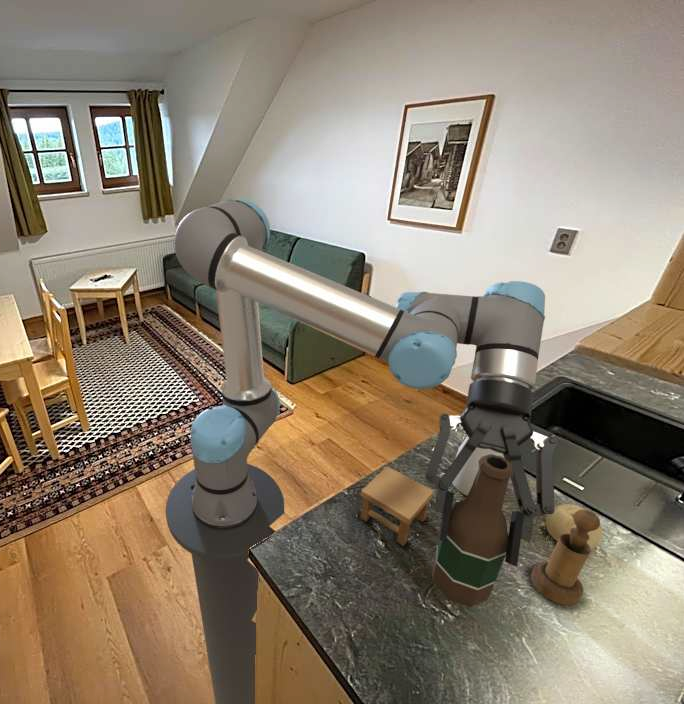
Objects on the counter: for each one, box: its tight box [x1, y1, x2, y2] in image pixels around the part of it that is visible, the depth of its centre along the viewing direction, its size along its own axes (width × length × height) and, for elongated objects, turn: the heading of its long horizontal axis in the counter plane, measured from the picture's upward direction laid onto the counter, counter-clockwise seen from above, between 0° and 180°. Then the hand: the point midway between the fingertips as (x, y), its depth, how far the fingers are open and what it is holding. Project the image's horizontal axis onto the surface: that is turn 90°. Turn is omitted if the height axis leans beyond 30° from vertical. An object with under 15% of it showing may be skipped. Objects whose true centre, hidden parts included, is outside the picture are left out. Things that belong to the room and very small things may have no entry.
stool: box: [359, 465, 435, 547], centre depth 82 cm, size 10×10×8 cm
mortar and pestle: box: [530, 508, 601, 607], centre depth 65 cm, size 7×6×18 cm
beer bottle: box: [431, 454, 513, 608], centre depth 55 cm, size 8×8×24 cm
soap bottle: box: [451, 435, 504, 497], centre depth 85 cm, size 10×10×23 cm
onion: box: [544, 503, 603, 550], centre depth 75 cm, size 8×8×8 cm
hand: (475, 551), depth 52 cm, fingers closed on beer bottle, 7 cm apart
